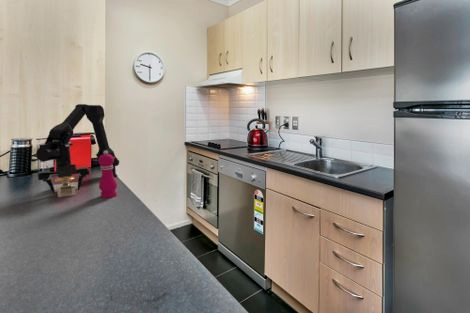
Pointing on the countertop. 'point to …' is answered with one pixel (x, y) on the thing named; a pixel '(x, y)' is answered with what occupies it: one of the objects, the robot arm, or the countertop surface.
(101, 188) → the pepper mill
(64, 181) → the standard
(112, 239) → the countertop surface
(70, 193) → the collar
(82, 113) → the robot arm
